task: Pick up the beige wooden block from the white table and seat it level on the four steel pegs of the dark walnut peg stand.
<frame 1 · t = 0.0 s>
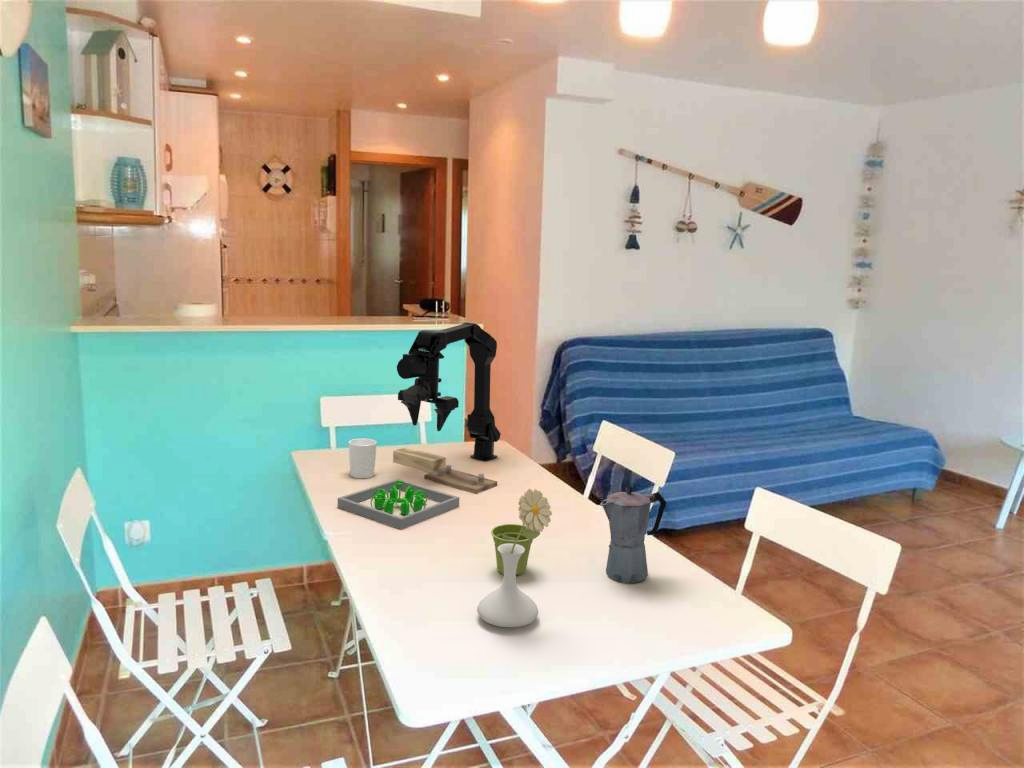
hand: (426, 428, 220), 15 cm above the table, fingers open, 9 cm apart
white cup: (362, 475, 221), on the table
plant pot: (511, 571, 162), on the table
beige wooden block: (419, 466, 234), on the table
peg stand: (460, 482, 219), on the table
flower in vase: (511, 618, 142), on the table
toy tray rim: (399, 506, 197), on the table
moka pot: (627, 575, 163), on the table
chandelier: (399, 508, 197), resting in toy tray rim
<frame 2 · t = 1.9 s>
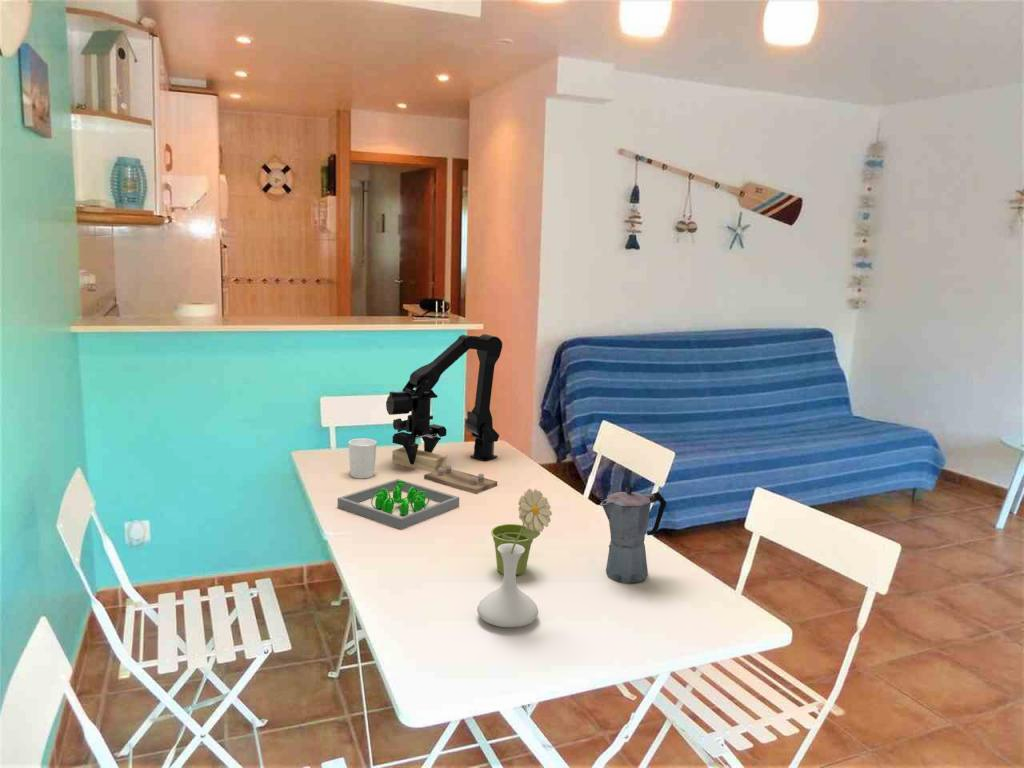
hand: (419, 461, 233), 1 cm above the table, fingers closed on beige wooden block, 6 cm apart
beige wooden block: (419, 465, 233), on the table, touching gripper
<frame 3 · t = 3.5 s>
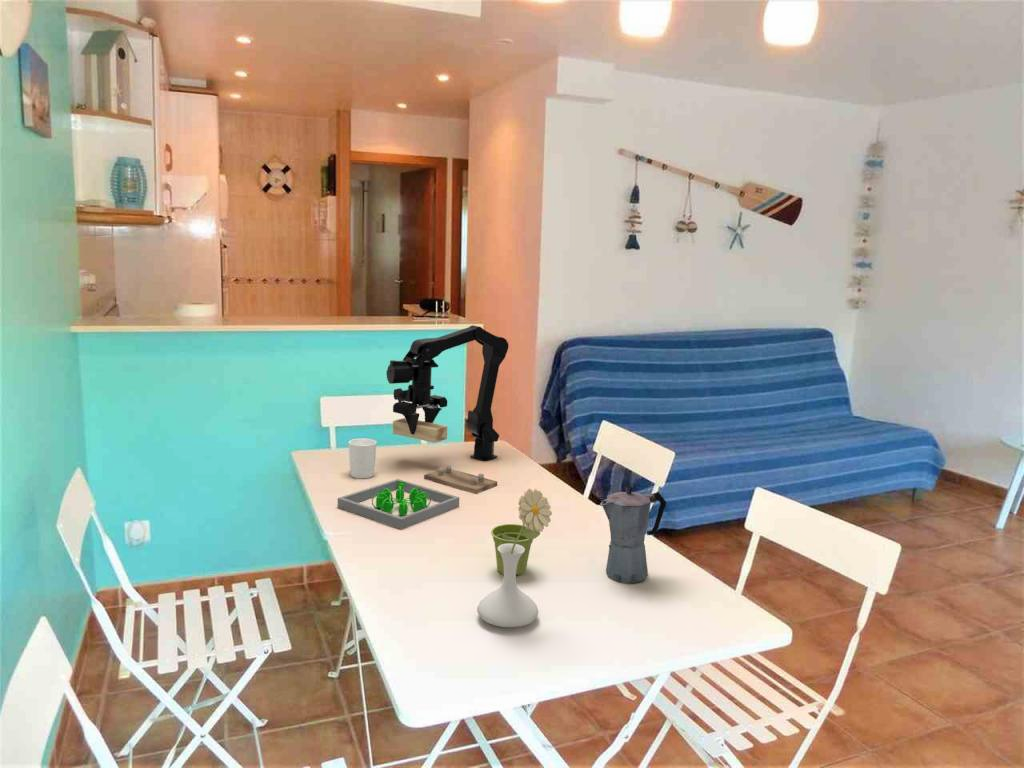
hand: (419, 432, 232), 10 cm above the table, fingers closed on beige wooden block, 6 cm apart
beige wooden block: (419, 436, 232), point 9 cm above the table, touching gripper
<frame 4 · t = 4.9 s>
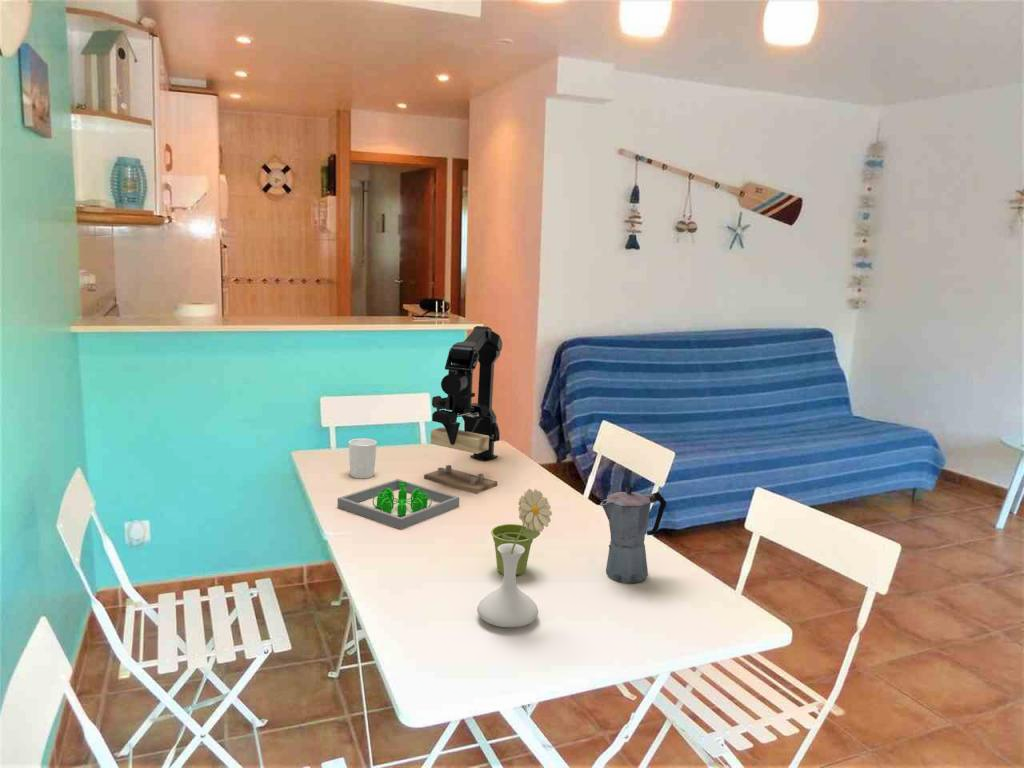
hand: (459, 442, 218), 12 cm above the table, fingers closed on beige wooden block, 6 cm apart
beige wooden block: (459, 446, 218), point 10 cm above the table, touching gripper
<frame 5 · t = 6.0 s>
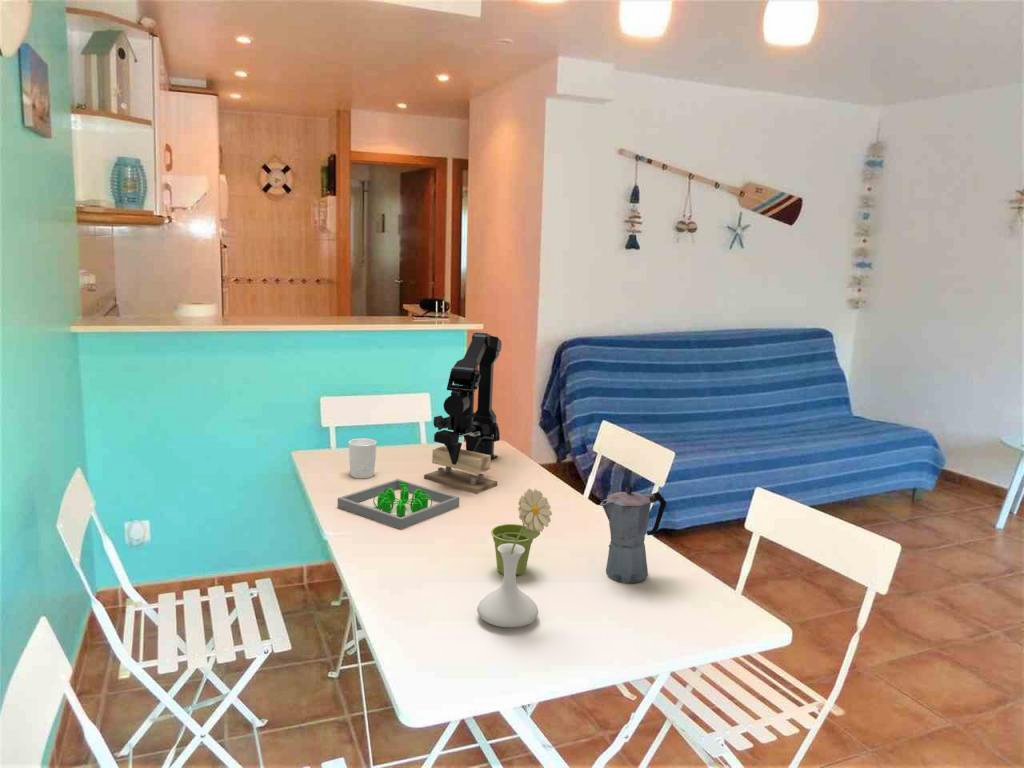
hand: (461, 461, 218), 6 cm above the table, fingers closed on beige wooden block, 6 cm apart
beige wooden block: (460, 465, 219), point 5 cm above the table, touching gripper
when the fingers open (5 cm above the table, at t = 7.0 s): beige wooden block drops 1 cm, resting on peg stand.
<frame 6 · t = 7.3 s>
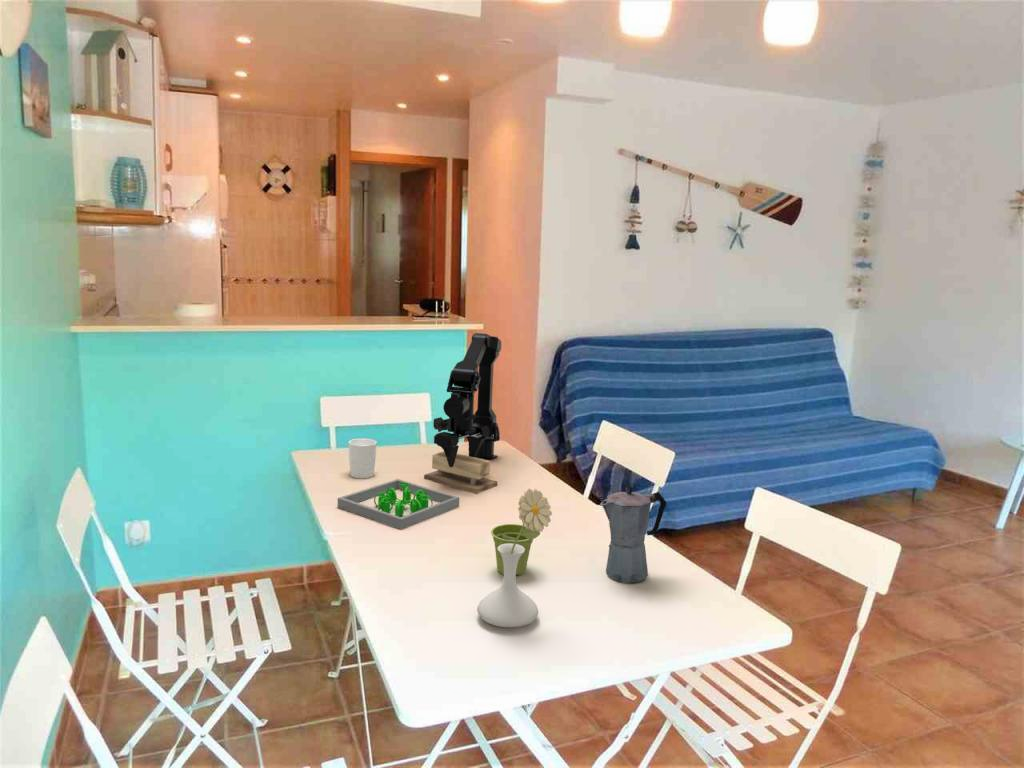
hand: (461, 463, 218), 5 cm above the table, fingers open, 9 cm apart
beige wooden block: (460, 471, 219), point 3 cm above the table, touching peg stand
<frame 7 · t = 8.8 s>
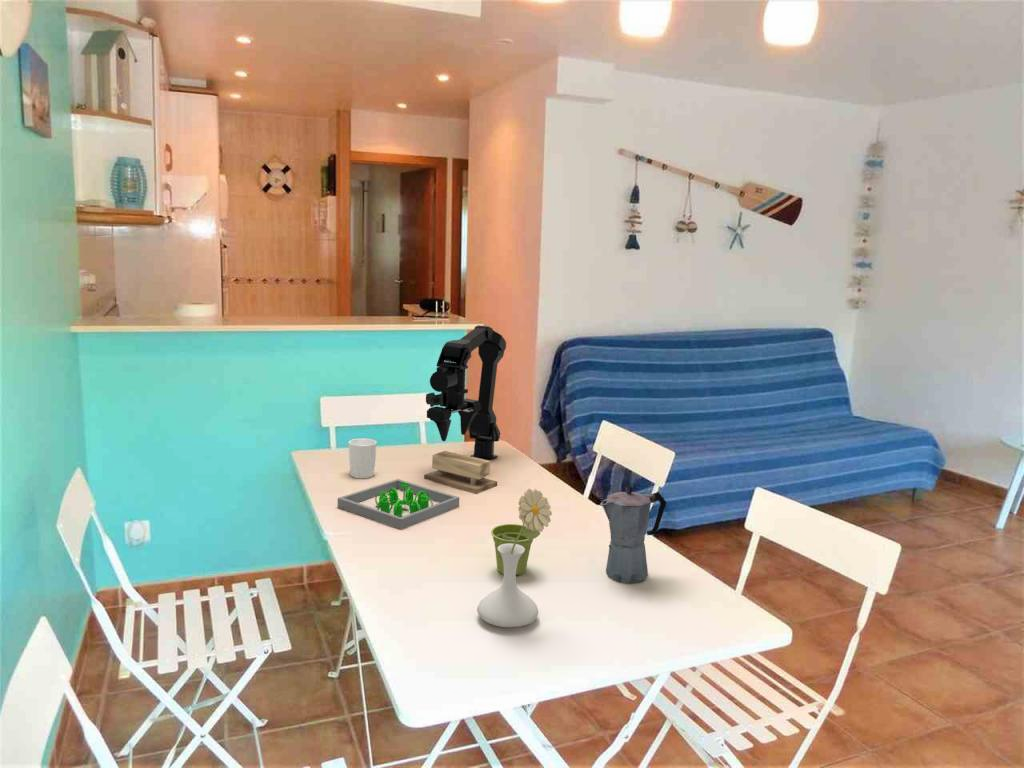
hand: (453, 437, 223), 12 cm above the table, fingers open, 9 cm apart
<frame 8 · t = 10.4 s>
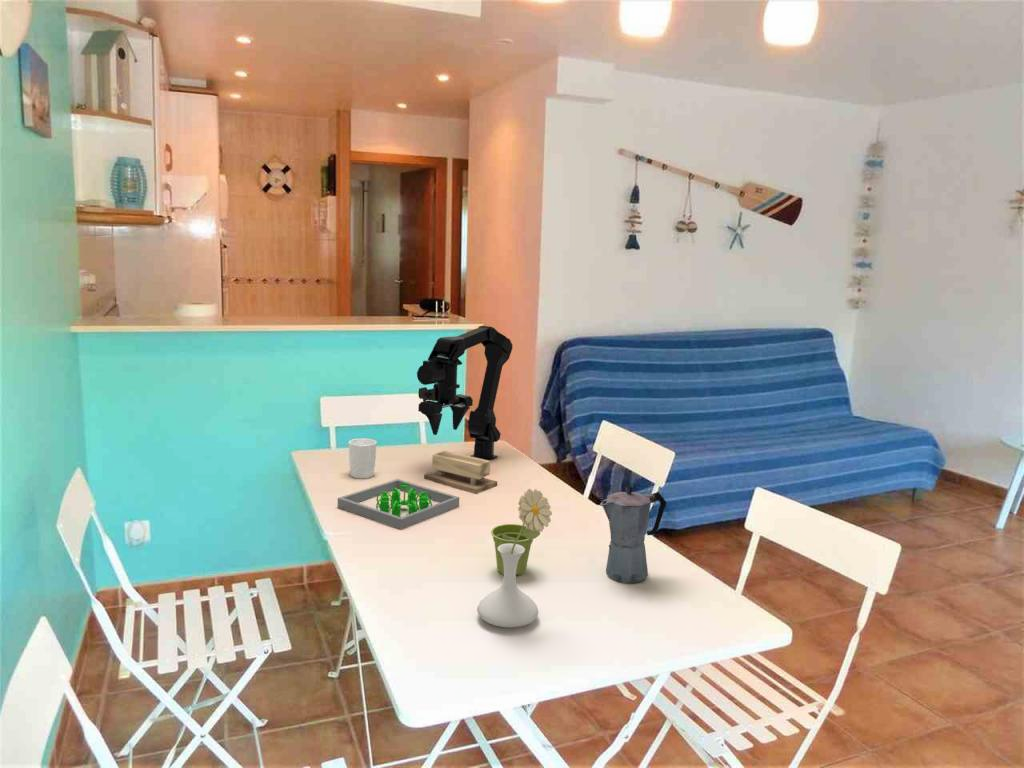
hand: (445, 432, 227), 12 cm above the table, fingers open, 9 cm apart
at the end: beige wooden block 0.1 cm off-centre on the peg stand, point 3.2 cm above the peg stand's base; beige wooden block tilted 0°; the gripper is holding nothing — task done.
